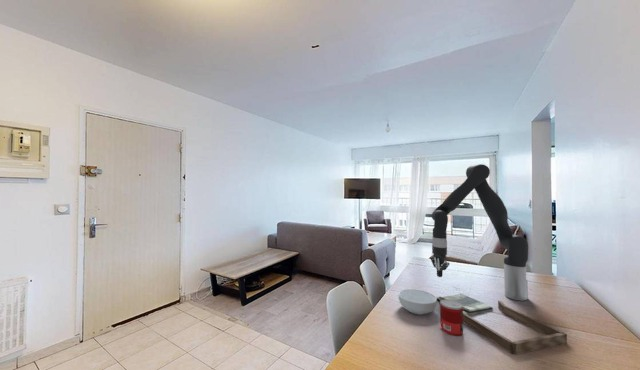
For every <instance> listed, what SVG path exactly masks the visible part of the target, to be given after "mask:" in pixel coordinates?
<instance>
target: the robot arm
mask: <svg viewBox="0 0 640 370" xmlns="http://www.w3.org/2000/svg"><path fill="white" fill-rule="evenodd" d="M465 175H466V179H465V180H464V181H463V182H462V183H461V184H460V185H459V186H458V187H456V188H455V189H454V190H453V191H451V193H449V194H448V196H447V197H446V198H445V199H444V201H443V202H442V203H441V204H440V205H438V207H436V208H435V209H434V210H433V211H432V212H431V219H432V220H433V226H434V227H433V228H432V241H431V243H432V244H431V246H432V247H431V252H432V253H431V254H432V256H430V257H429V258H430V259H429V260H431V263H432V266H433V267H434V268H435V269H436V276H437V277H438V278H442V277H443V271H446V270H447V269H448V267H450V264H451V263H450V262H448V261H447V257H446V256H447V255H448V240H447V228H448V223H449V222H448V221H449V217H448V215H449V214H450V213H451V212H453V211H455V210H456V209H457V208H458V207H459V205H460V204H461V203H462V202H463V201H464V200H465V198H467V197H468V196H469V194H470V193H471V192H472V191H474V190H475V192H476V194H477V196H478V198H479V201H480V203H481V205H482V207H483V208H484V211H485V213H486V215H487V216H488V218H489V220H490V222H491V224H492V226H493V228H494V230H495V233H496V235H497V238H498V240H499V244H500V245H501V247H503V248H504V249H505V250H507V251H508V253H507V255H508V256H506V257H504V258H503V273H504V274H503V275H504V276H503V277H504V278H503V279H504V280H503V281H504V296H505V297H507V298H508V299H512V300H514V301H523V302H524V301H527V300H528V299H529V287H528V285H529V284H528V281H529V280H528V279H527V262H528V260H529V243H528V241H527V239H526V237H524V236H521V235H518V234H515V233H514V231H512V228H511V227H510V224H509V222H508V220H509V219H508V217H509V215H508V214H509V213H508V209H507V208H506V206H505V203H504V201H503V200H502V198H501V197H500V196H499V194H498V193H497V192H495V190H494V189H493V188H492V187H491V186H490V185H489V183H488V181H487V179H488V178H489V176H490V175H491V169H490V168H489V166H487V165H486V164H482V163H479V164H473V165H470V166H468V167H467V168H466V170H465Z"/></svg>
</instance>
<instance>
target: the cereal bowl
mask: <svg viewBox="0 0 640 370" xmlns="http://www.w3.org/2000/svg"><path fill="white" fill-rule="evenodd" d="M437 298H438V297H436V295H434V294H433V293H431V292H428V291H426V290H423V289H416V288H411V289H410V288H405V289H403V290H400V291H399V292H398V300H399V303H400V305H401V307H403V308H404V309H405V310H406V311H409V312H410V313H412V314H414V313H415V315H422V316H423V315H427V314H429V313H432V312H433V311H434V310H436V308H437V304H438V300H437Z"/></svg>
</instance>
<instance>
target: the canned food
mask: <svg viewBox="0 0 640 370" xmlns="http://www.w3.org/2000/svg"><path fill="white" fill-rule="evenodd" d="M439 306H440V309H439V312H440V313H439V314H440V329H441V331H442V332H444V333H445V334H447V335H449V336H453V337H459V336H462V335H463V333H464V322H463V307H462V304H461V303H459V302H457V301H454V300H448V299H444V300H441V301H440V302H439Z"/></svg>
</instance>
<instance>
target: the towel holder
mask: <svg viewBox="0 0 640 370" xmlns="http://www.w3.org/2000/svg"><path fill="white" fill-rule="evenodd" d="M497 308H498V310H500V312H501V313H502V314H503V315H506V316H508V317H510V318H511V319H514V320H516V321H518V322H520V323H522V324H523V325H525V326H527V327H530V328H531V329H534V330H536V331H537V332H539V333H541V334H544V335H541V336H535V337H530V338H527V339H520V340H515V341H512V340H510V339H509V338H507V337H505V336H504V335H502V334H500V333H499V332H497V331H496V330H494V329H492V328H490V327H489V326H487V325H485V324H484V323H482V322H480V321H478V320H477V319H475V318H473V317H472V316H470V315H467V314H465V313H464V312H463V324H465V325H467V326H469V327H470V328H471V329H474V330H475V331H477V332H478V333H480V335H482V336H484V337H486V338H487V339H489V340H490V341H491V342H493V343H495V344H496V345H497V346H499V347H501V348H502V349H504V350H506V352H509V353H510V354H512V355H518V354H524V353H529V352H533V351H539V350H543V349H548V348H553V347H557V346H562V344H563V345H567V344H568V334H567V333H565V332H563V331H561V330H559V329H556V328H555V327H553V326H550V325H548V324H546V323H544V322H542V321H540V320H537V319H536V318H534V317H532V316H529V315H526V314H525V313H522V312H520V311H518V310H516V309H514V308H511V307H509V306H508V305H506V304H505V303H504V302H503V301H502V300H497Z"/></svg>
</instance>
